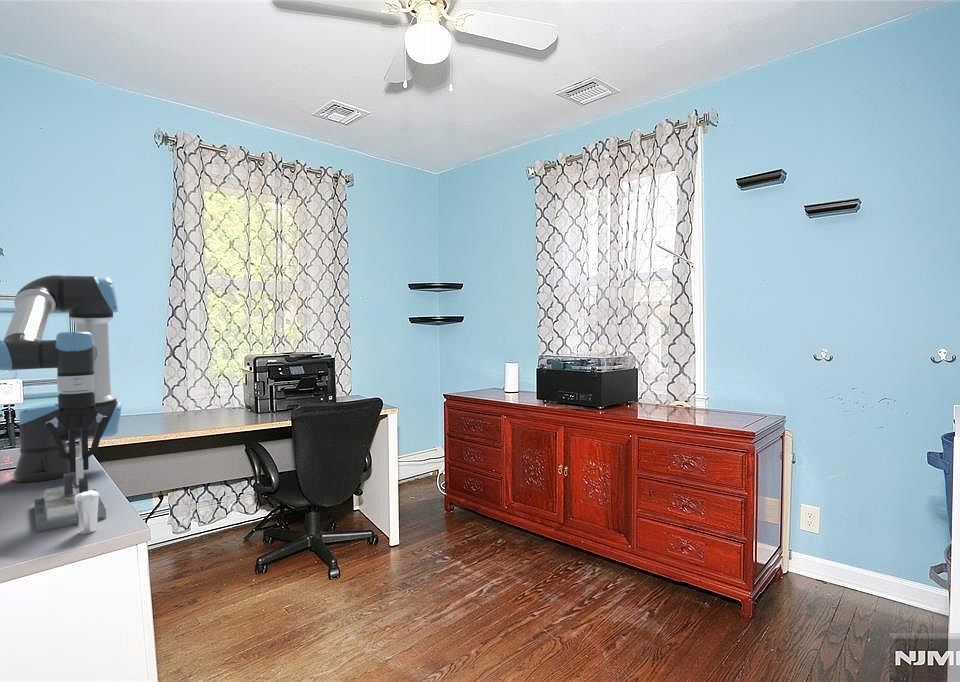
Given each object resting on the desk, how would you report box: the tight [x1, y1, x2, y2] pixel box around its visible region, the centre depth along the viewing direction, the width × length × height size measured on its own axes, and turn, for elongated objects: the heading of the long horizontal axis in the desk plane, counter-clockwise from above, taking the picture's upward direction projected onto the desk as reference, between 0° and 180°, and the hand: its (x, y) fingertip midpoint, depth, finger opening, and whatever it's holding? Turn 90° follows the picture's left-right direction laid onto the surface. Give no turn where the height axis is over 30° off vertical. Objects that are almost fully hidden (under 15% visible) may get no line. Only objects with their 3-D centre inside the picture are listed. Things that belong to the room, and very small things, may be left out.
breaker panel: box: [33, 472, 107, 533], centre depth 132 cm, size 24×13×10 cm, turn 41°
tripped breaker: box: [63, 473, 74, 495], centre depth 132 cm, size 3×2×5 cm, turn 41°
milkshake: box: [72, 488, 100, 535], centre depth 119 cm, size 4×5×10 cm
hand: (79, 483), depth 134 cm, fingers closed
